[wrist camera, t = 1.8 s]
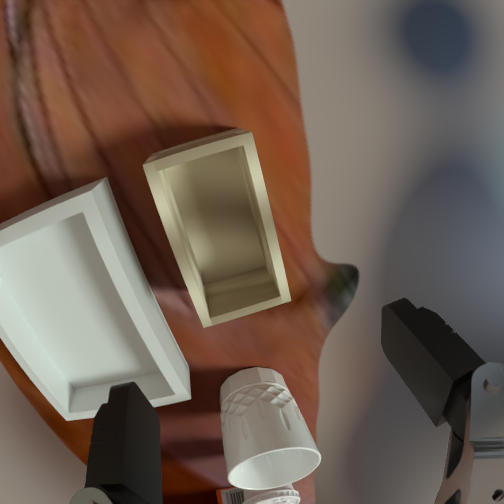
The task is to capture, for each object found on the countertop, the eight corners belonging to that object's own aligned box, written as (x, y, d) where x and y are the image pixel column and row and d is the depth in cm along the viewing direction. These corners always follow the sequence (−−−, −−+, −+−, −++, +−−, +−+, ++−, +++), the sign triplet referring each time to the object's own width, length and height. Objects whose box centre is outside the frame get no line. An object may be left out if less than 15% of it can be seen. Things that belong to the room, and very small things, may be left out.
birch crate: (272, 266, 26) (291, 300, 21) (199, 289, 25) (203, 327, 21) (237, 127, 21) (251, 131, 16) (152, 153, 20) (142, 165, 16)
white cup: (302, 366, 31) (338, 445, 22) (272, 414, 34) (296, 487, 25) (226, 356, 29) (246, 447, 20) (204, 408, 31) (216, 490, 22)
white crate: (189, 366, 28) (191, 399, 25) (73, 391, 27) (66, 420, 24) (106, 176, 20) (91, 190, 17) (-21, 234, 19) (-46, 255, 16)
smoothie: (219, 444, 34) (238, 544, 22) (262, 422, 34) (293, 527, 21) (249, 459, 37) (272, 547, 25) (289, 439, 37) (321, 530, 24)
